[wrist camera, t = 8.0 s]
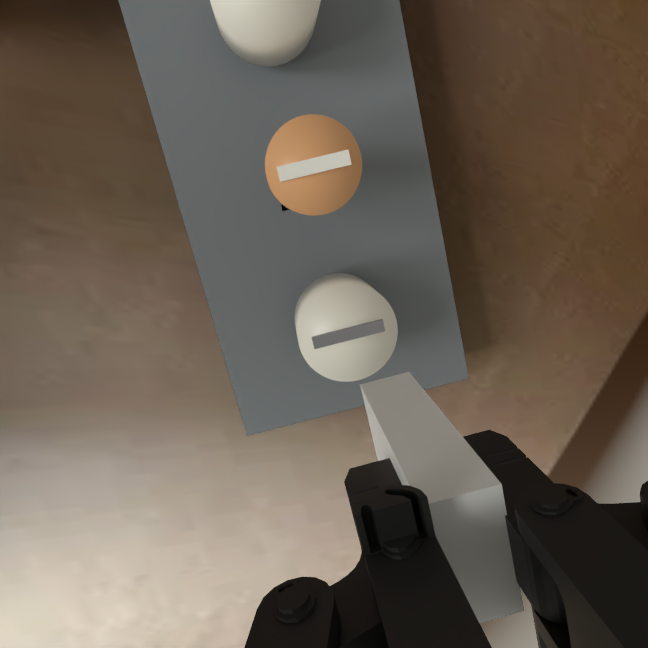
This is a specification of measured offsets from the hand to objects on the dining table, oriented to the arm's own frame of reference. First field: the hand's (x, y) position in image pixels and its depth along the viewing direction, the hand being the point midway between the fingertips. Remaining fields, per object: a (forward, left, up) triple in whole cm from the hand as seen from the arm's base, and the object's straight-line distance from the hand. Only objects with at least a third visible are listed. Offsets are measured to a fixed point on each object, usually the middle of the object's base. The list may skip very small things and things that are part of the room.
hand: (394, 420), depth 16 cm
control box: (0, +8, -20) cm, 22 cm away
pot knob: (0, +8, -16) cm, 18 cm away
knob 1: (0, +16, -19) cm, 25 cm away
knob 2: (0, 0, -19) cm, 19 cm away
